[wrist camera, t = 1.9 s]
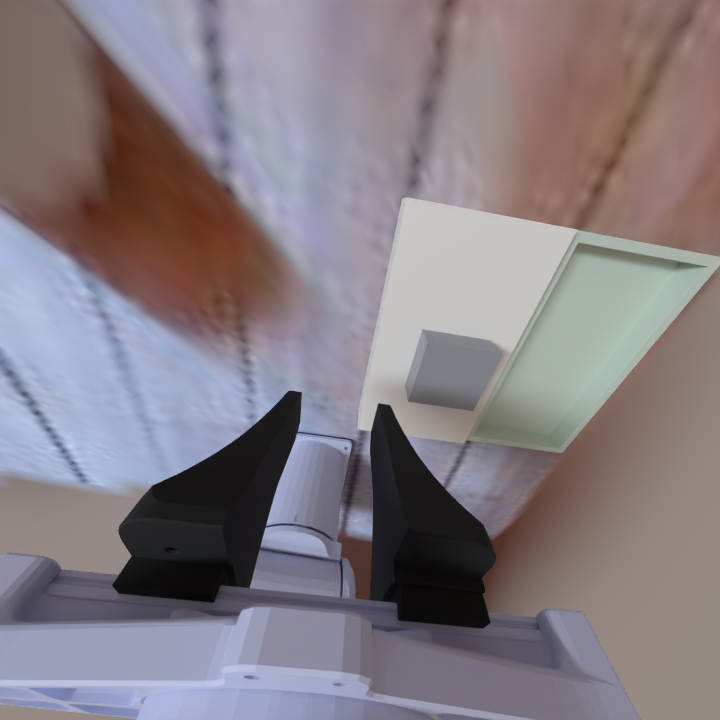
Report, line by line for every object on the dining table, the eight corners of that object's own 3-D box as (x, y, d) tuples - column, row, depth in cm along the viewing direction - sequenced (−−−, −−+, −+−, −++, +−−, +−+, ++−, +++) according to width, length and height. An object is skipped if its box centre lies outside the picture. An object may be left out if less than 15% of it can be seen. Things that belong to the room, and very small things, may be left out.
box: (549, 437, 27) (562, 453, 25) (458, 424, 26) (464, 439, 24) (690, 253, 17) (725, 258, 16) (553, 227, 17) (574, 229, 15)
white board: (456, 424, 26) (463, 443, 24) (358, 410, 25) (357, 429, 23) (550, 226, 17) (577, 229, 15) (402, 199, 16) (407, 197, 14)
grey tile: (464, 394, 21) (473, 411, 19) (404, 385, 21) (408, 401, 19) (490, 340, 18) (502, 353, 17) (422, 329, 18) (427, 341, 16)
